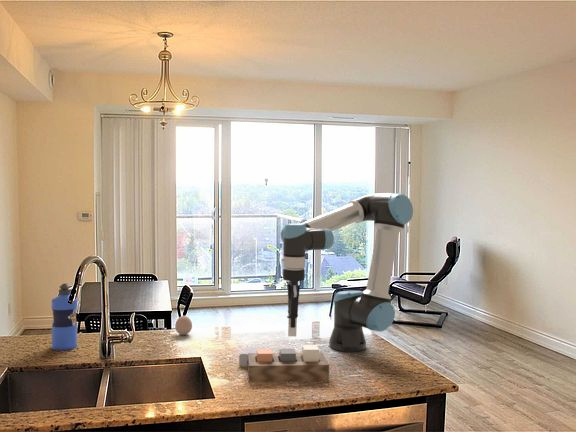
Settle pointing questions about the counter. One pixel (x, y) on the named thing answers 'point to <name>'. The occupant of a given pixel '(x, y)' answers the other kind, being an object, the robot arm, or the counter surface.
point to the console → (287, 369)
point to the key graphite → (287, 355)
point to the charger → (244, 355)
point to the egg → (183, 325)
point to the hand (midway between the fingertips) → (292, 335)
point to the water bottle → (64, 321)
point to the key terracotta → (264, 355)
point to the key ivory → (310, 353)
